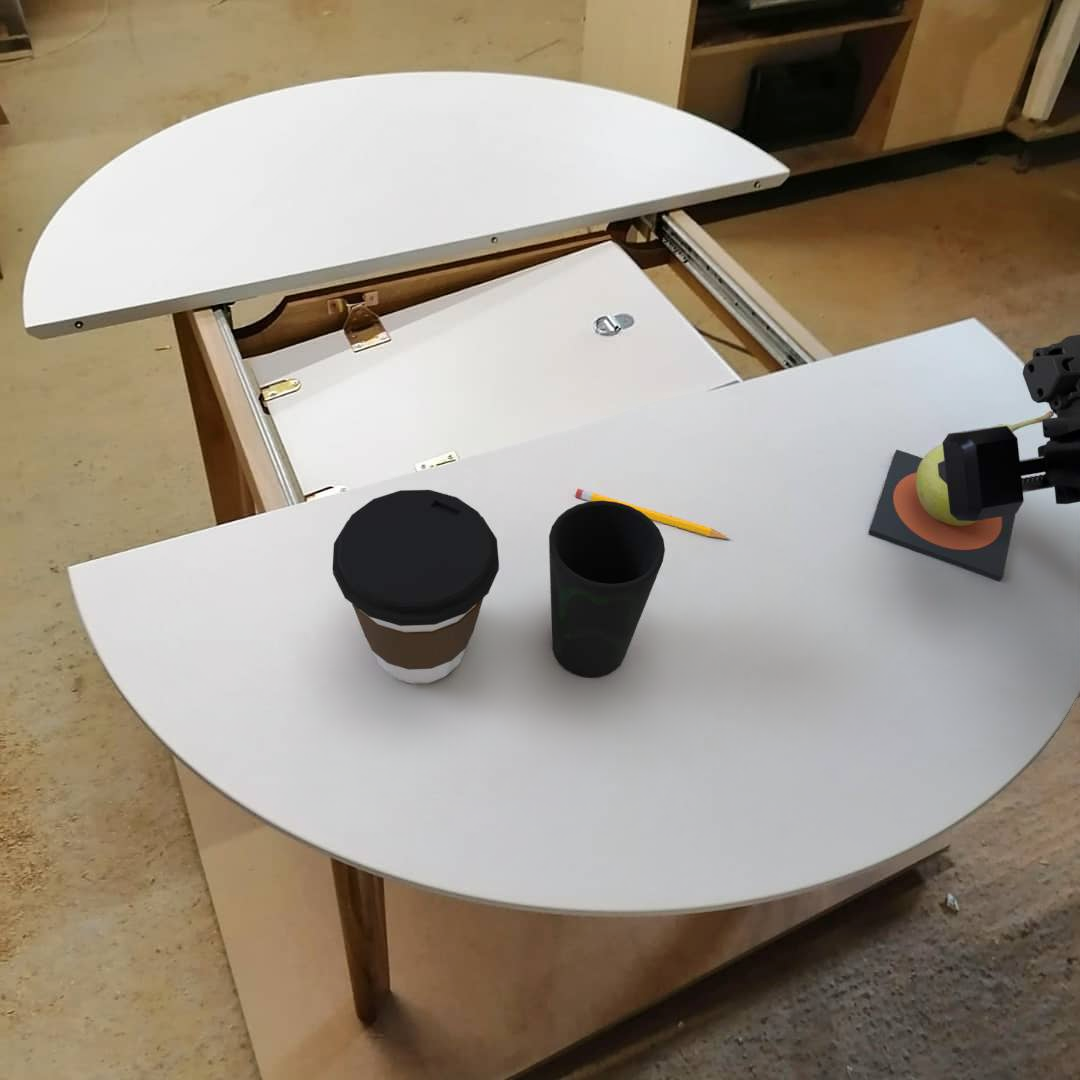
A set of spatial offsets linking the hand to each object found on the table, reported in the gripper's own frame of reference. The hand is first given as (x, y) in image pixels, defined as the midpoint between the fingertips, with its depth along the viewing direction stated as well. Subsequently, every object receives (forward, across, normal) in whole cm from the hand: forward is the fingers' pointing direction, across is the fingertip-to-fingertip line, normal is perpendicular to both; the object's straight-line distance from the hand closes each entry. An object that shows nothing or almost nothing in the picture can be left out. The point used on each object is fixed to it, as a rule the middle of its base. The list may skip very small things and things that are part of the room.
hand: (990, 461), depth 80 cm
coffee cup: (+4, +46, +7) cm, 47 cm away
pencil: (+10, +25, +1) cm, 27 cm away
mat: (+7, 0, +4) cm, 8 cm away
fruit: (+6, 0, +4) cm, 7 cm away
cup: (+2, +34, +9) cm, 35 cm away
